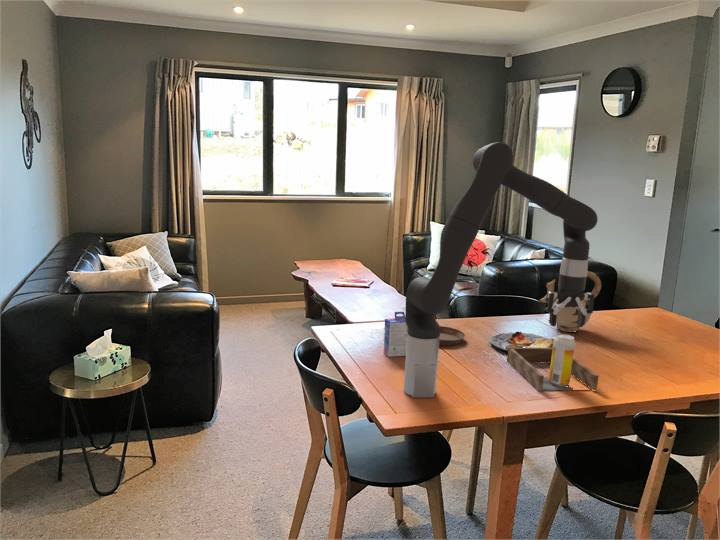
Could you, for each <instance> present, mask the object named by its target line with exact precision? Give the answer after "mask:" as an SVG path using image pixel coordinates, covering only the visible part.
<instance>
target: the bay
mask: <svg viewBox="0 0 720 540" xmlns="http://www.w3.org/2000/svg"><path fill="white" fill-rule="evenodd" d="M552 350H553V348H511V347H508V351H507V355H506V357H507V358H506V362H507V364H509V365H510V366H511V367H512V368H513V369H514V370H515V371H516V373H518V374H519V375H520V376H521V377H522V378H523V379H524V380H526V382H528V384H530V386H532V387H533V388H534V389H535V390H536V392H538V393H541V392H551V391H552V392H556V391H555V390H573V388H571V387H569V385H567V386H568V387H566V386H556V385H553V384H551V383H550V381H549V376H544V375H543V374H542V373H541V372H540V371H539V370H538V369H537V368H536V367H534V366H533V365H532V364H548V363H547V362H551V358H552ZM541 362H542V363H541ZM543 362H544V363H543ZM545 362H546V363H545ZM571 374H572V375H571V376H570V378H571V377H572V376H573V375H574V376H575V377H576V378H578V379H579V380H581V381H582V382H583V383H585V384H586V385H587V386H589V387H590V388H591V389H593V390H597V391H598V383H599V378H600V377H599V375H598V374H597V373H596V372H594V371H593V370H592V369H590V368H588V367H587V366H586V365H585V364H583V363H582V362H580V361H579V360H578V359H577V358H575V357H573V361H572V368H571ZM574 376H573V377H574ZM578 379H577V380H578ZM583 383H582V384H583Z"/></svg>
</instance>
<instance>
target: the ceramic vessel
mask: <svg viewBox="0 0 720 540" xmlns="http://www.w3.org/2000/svg"><path fill="white" fill-rule="evenodd" d="M586 278H589V279H590V280H591V281H593V283H594V287H593V289H592V291H591V292H590V293H592V294H593V295H594V299H595V298H596V297H597V296H598V295H599V293H600V292H601V289H602V281H601V279H600V278H599V276H598V275H597V274H596V273H594V272H592V271H589V270H587V277H586ZM555 283H556V278H555V279H553V280H552V281H549V282H546V284H545V287H546V289H547V292H548V291H550V292H554V293H556V292H555ZM546 296H547V293H546V295H545V296H544V297H542V298H541V299H539V301H540V302H541V303H544V304H545V301H546ZM557 300H558V298H557V297H555V299H554V300H553V305H552V307H553V306H554V303H555V302H556V301H557ZM581 302H582V304H583V306H584V309H585V304H586V300H585V297H584V299H583V300H582V301H581ZM559 305H560V304H559ZM548 314H549V316H550V312H548ZM578 314H580V312H579V311H578V309H577V308H576V307H575V308H574V307H563V308H562V309H561V310H559V312H558V313H557V314H556V315H557V320H556V326H555V327H556V329H558V330H559V329H560V331H562V332H564V331H567V332H574V331H578V332H579V329H580V327H579V326H577V321H578ZM591 315H592V313H589V314H587V315H586V317H585V324H584V325H583V327H584V326H585V325H586V324H587V323H588V322H589V321H590V318H591ZM567 332H566V333H567Z"/></svg>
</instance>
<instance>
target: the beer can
mask: <svg viewBox="0 0 720 540" xmlns="http://www.w3.org/2000/svg"><path fill="white" fill-rule="evenodd" d="M553 339H554V342H553V350H552V358H551V363H550V367H549V374H548V377H549V381H550V383H551V384H553V385H556V386H567V385H568V384H569V382H570V377H571V376H572V375H571V368H572V361H573V358H574V353H575V345H576V344H575V343H576V340H575V337H574V336H573V335H569V334H565V333H557V334H555V337H554V338H553Z"/></svg>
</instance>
